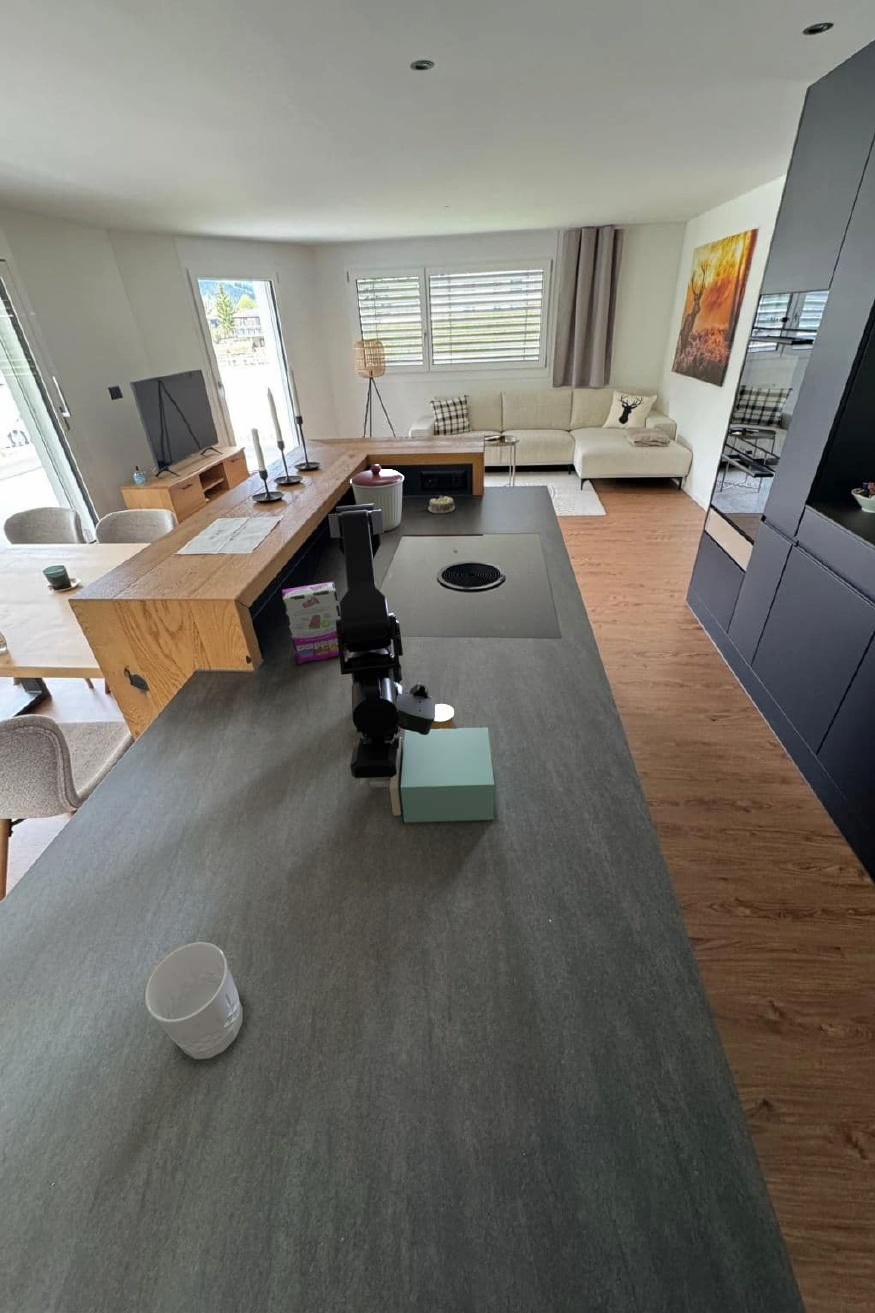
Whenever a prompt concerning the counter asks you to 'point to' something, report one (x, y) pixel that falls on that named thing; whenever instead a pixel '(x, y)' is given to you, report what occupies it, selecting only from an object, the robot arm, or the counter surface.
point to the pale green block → (447, 776)
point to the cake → (441, 505)
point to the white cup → (196, 1000)
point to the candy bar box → (313, 621)
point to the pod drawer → (390, 783)
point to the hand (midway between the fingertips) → (384, 767)
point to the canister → (380, 493)
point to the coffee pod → (443, 717)
